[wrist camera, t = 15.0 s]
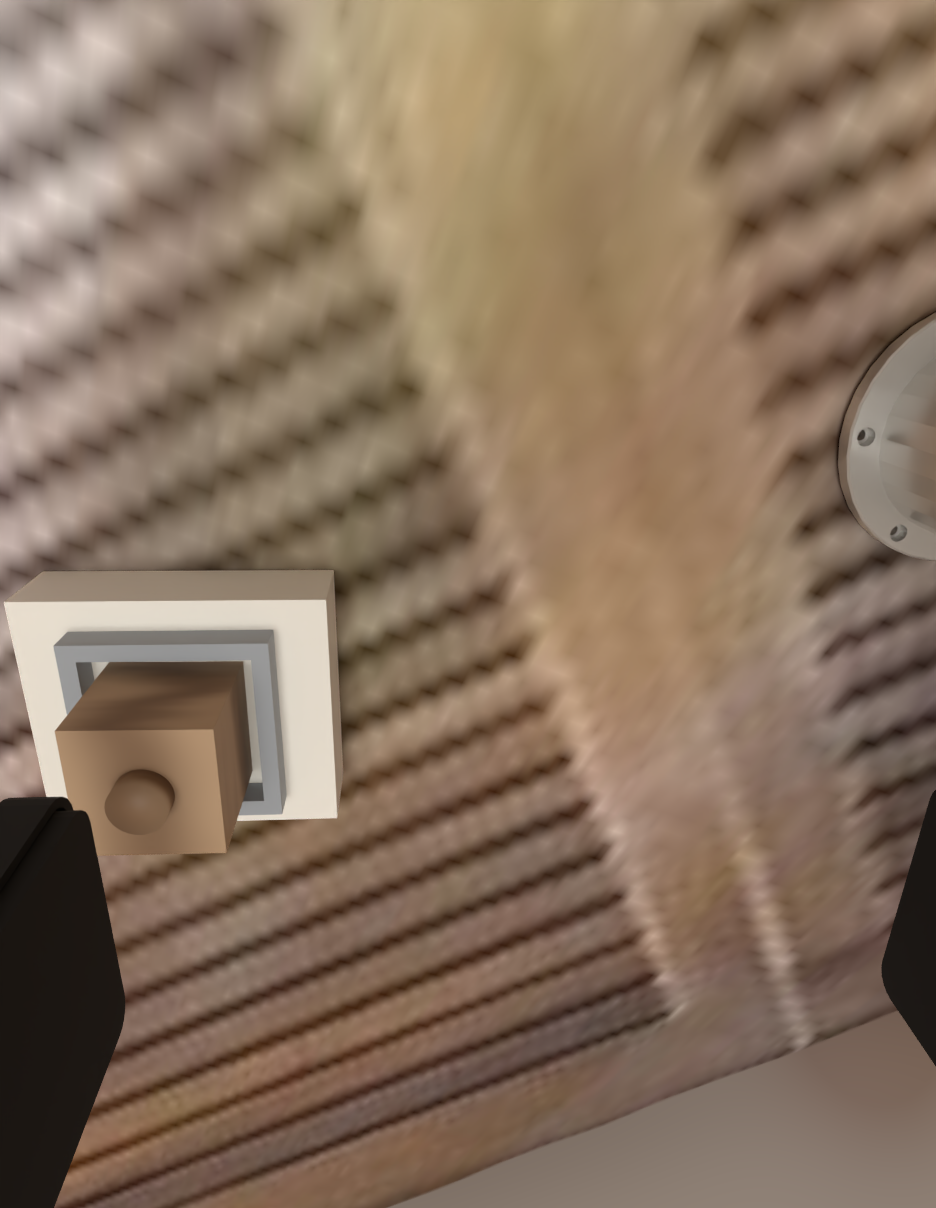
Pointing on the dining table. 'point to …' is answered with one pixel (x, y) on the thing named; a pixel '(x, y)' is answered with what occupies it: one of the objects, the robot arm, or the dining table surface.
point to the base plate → (197, 634)
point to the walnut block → (159, 756)
